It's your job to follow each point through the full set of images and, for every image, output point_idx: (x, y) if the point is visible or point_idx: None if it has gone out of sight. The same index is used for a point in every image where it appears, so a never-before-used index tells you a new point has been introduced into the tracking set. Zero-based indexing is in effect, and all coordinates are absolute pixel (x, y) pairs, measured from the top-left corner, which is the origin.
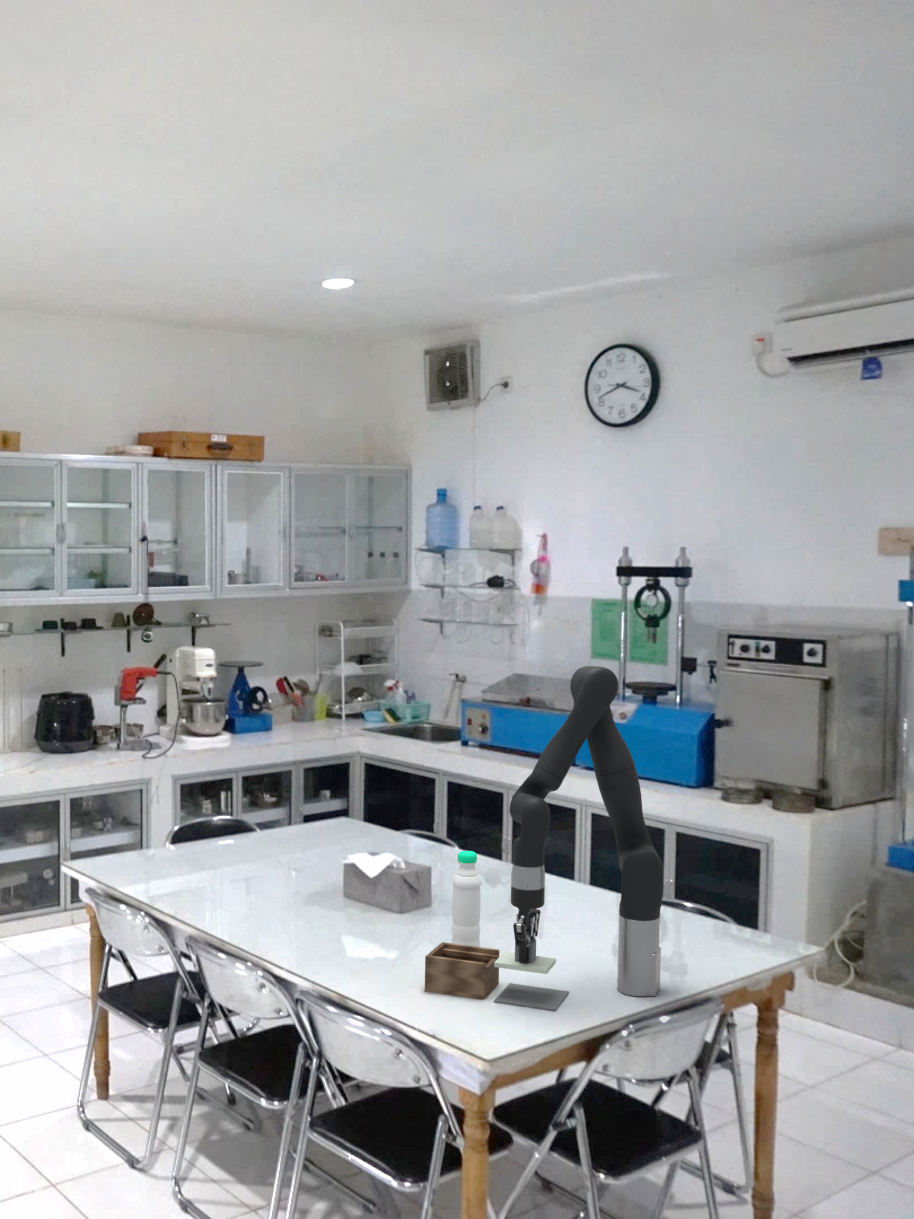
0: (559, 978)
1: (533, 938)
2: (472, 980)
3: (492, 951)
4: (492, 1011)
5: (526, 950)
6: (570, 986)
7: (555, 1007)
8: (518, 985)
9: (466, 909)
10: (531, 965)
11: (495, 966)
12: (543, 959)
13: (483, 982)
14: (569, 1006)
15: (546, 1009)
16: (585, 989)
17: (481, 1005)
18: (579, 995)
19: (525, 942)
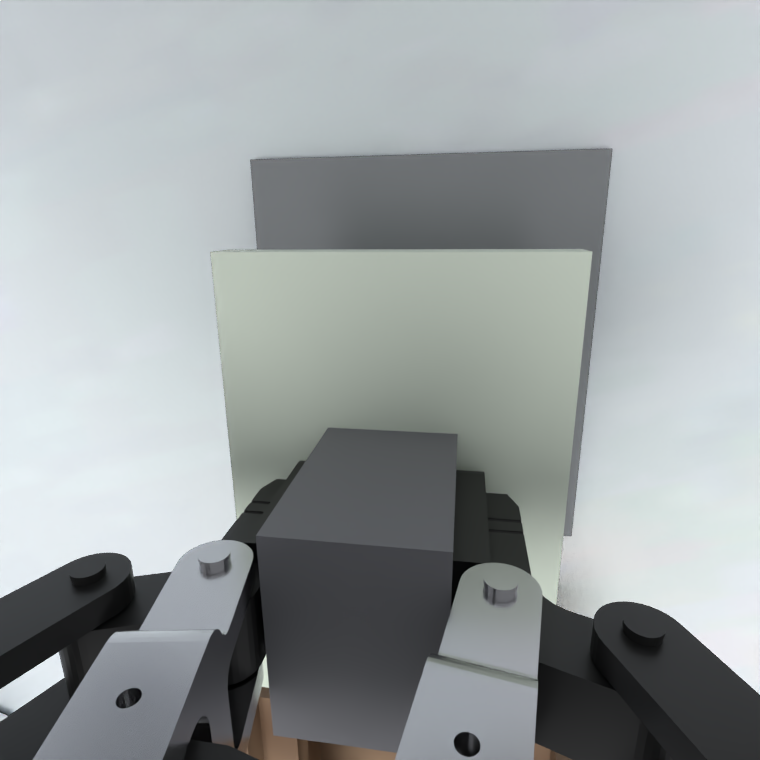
0: (61, 286)
1: (250, 579)
2: None
3: (251, 750)
4: (713, 508)
5: (503, 563)
6: (144, 187)
7: (570, 160)
8: None
9: None
10: (512, 427)
11: None
12: (293, 361)
13: None
14: (480, 85)
15: (603, 214)
16: (144, 77)
17: (633, 577)
18: (260, 82)
19: (746, 684)
